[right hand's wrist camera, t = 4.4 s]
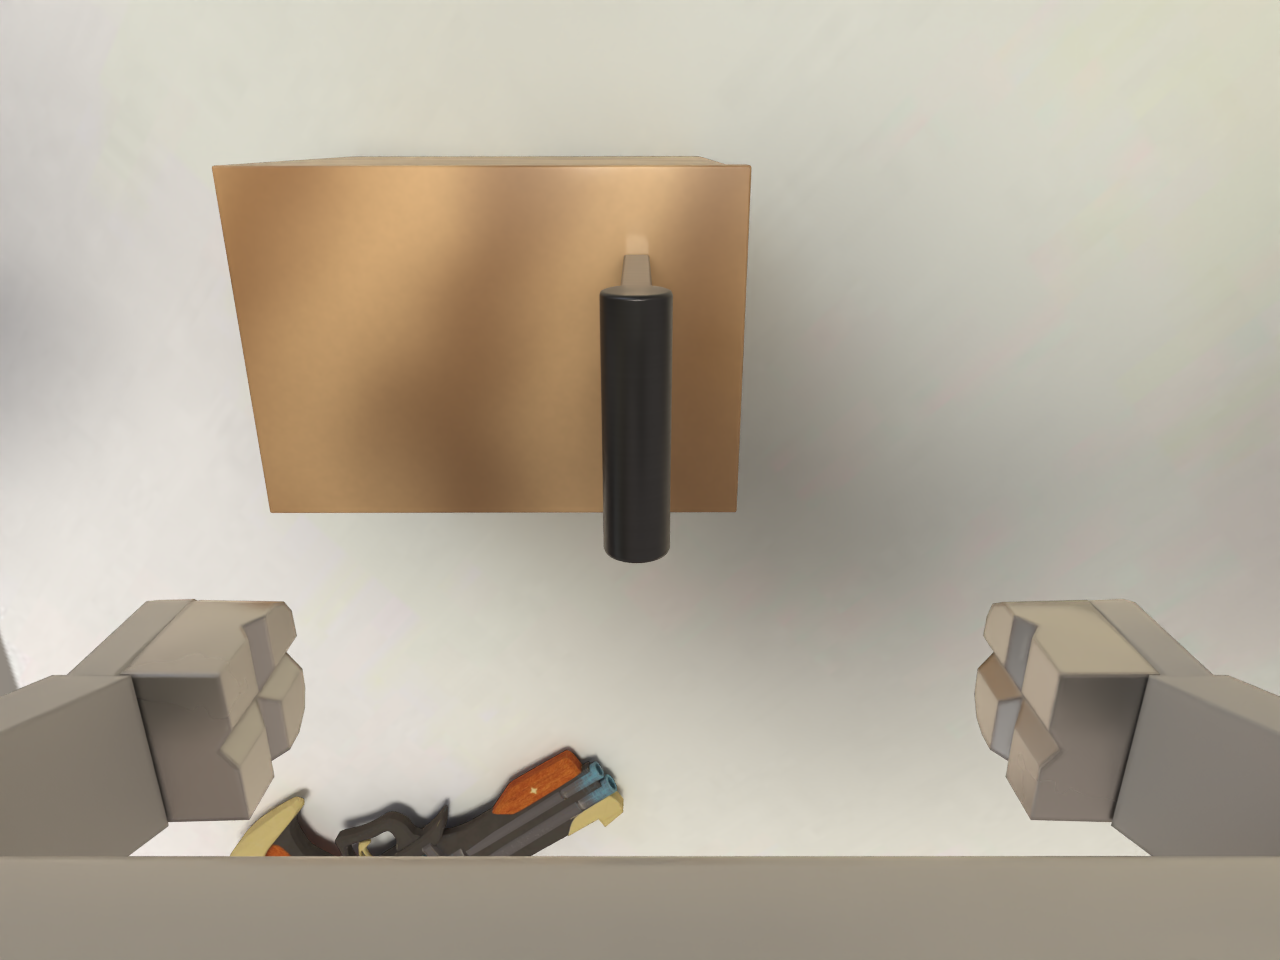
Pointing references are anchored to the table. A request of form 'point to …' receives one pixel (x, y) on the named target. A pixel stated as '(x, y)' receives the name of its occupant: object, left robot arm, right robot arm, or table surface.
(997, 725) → the right robot arm
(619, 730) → the table surface
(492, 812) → the toy gun
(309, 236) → the lid
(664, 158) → the chest
